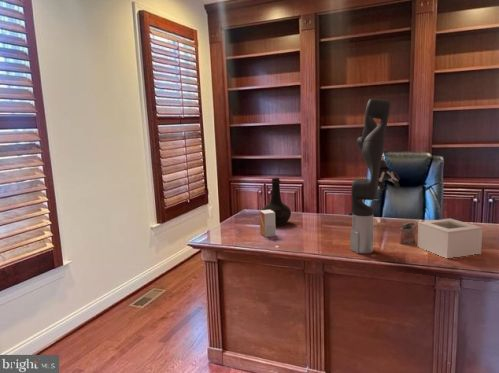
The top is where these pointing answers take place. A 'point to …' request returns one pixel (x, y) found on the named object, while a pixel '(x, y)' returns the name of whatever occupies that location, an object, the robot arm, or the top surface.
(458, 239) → the slot box
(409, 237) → the lighter
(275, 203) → the glass bottle
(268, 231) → the small box
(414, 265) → the top surface
